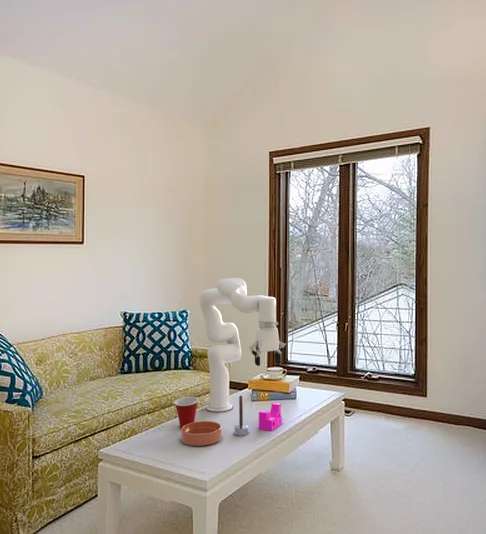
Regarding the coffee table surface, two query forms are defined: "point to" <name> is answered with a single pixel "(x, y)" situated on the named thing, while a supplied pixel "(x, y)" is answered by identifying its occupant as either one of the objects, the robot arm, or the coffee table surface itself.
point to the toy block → (270, 417)
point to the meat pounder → (241, 421)
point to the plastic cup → (186, 409)
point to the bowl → (201, 433)
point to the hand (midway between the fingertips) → (267, 364)
